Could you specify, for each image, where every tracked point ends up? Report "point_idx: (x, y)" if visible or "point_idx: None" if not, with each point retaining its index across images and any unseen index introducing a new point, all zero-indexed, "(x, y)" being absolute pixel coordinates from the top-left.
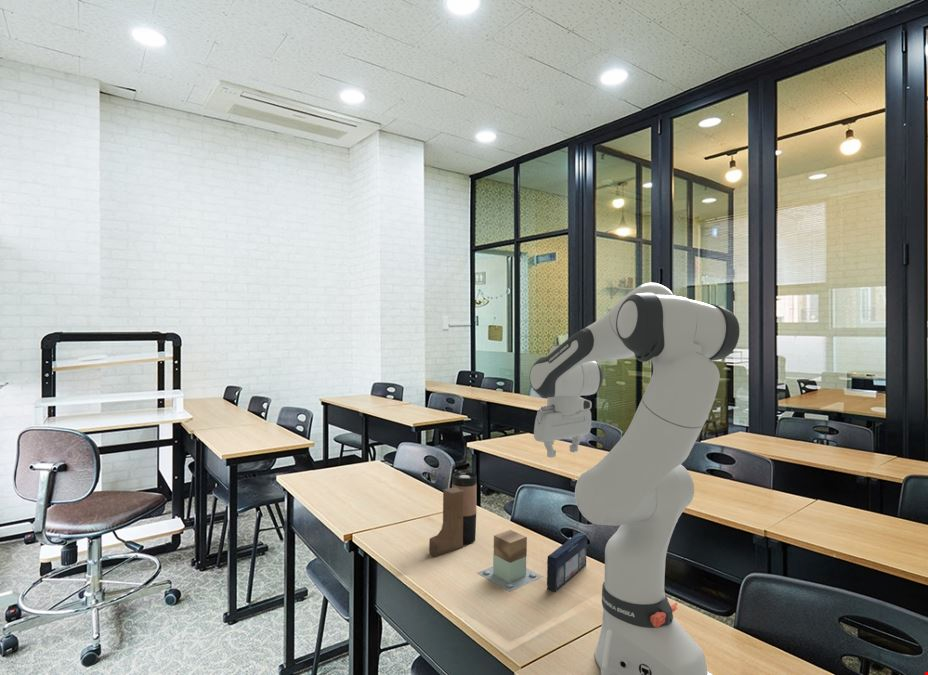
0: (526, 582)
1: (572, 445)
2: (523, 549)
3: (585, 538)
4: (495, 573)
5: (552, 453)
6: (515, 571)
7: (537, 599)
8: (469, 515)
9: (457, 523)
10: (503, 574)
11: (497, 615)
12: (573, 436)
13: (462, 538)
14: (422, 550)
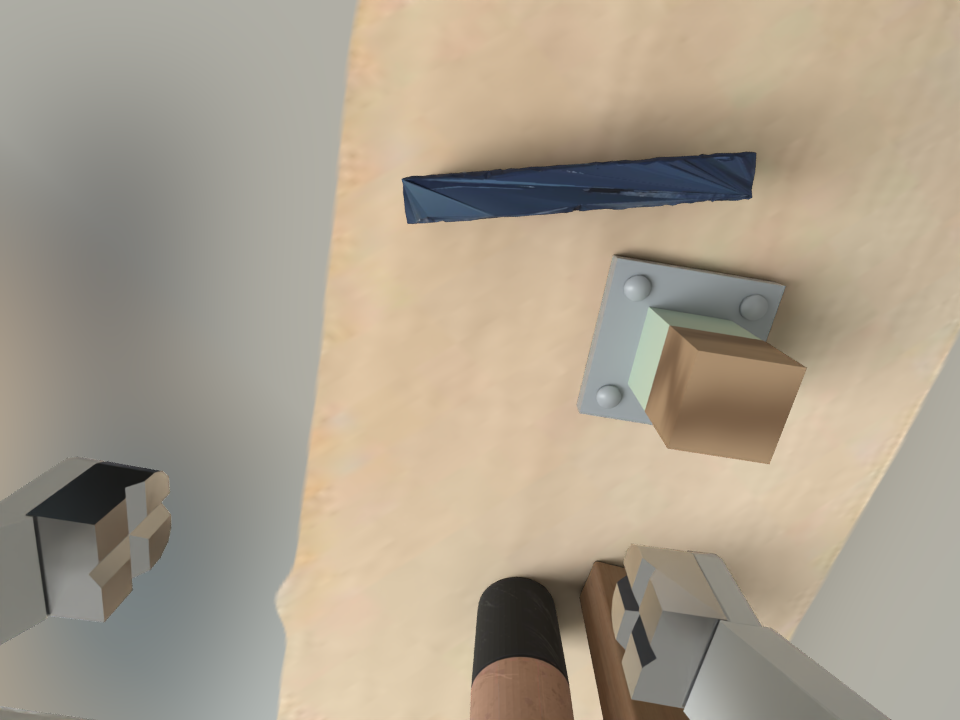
0: (693, 277)
1: (72, 584)
2: (700, 337)
3: (421, 176)
4: None
5: (739, 592)
6: (714, 323)
7: (731, 203)
8: (541, 661)
9: None
10: None
11: (895, 247)
12: (17, 717)
13: (606, 593)
14: None
